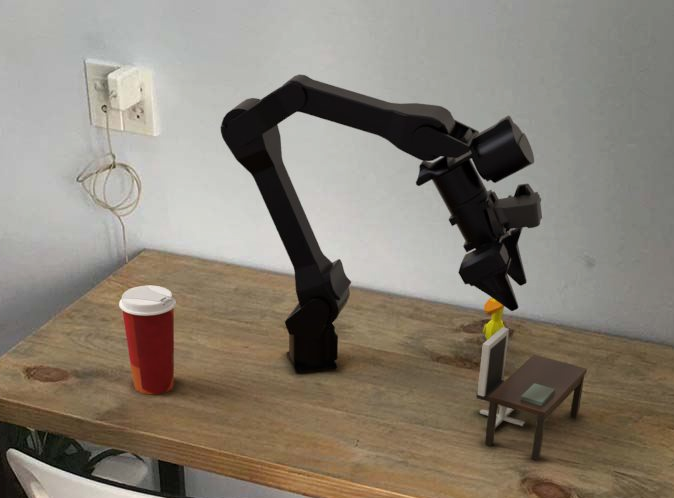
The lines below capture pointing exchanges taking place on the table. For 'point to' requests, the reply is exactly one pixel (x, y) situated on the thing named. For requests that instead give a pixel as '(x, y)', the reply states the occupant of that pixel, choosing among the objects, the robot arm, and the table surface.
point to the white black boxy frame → (495, 373)
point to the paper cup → (150, 337)
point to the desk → (537, 393)
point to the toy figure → (493, 317)
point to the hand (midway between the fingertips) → (519, 296)
